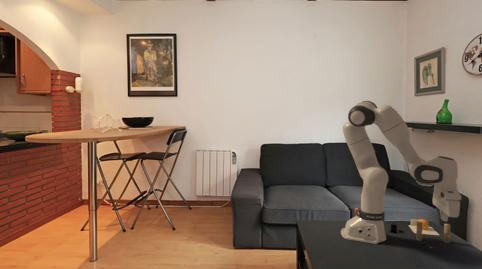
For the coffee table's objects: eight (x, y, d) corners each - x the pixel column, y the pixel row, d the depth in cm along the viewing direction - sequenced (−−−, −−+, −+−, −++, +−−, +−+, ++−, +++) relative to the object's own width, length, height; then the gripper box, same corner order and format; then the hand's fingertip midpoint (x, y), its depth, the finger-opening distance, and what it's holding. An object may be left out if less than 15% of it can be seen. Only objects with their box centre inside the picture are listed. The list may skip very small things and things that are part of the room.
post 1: (417, 240, 152) (417, 223, 151) (415, 238, 154) (416, 221, 154) (422, 240, 151) (423, 223, 150) (421, 238, 154) (421, 221, 153)
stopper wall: (411, 225, 172) (411, 220, 172) (410, 224, 174) (410, 219, 174) (425, 226, 170) (425, 221, 170) (424, 225, 172) (424, 220, 172)
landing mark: (414, 233, 160) (414, 233, 160) (408, 225, 172) (408, 225, 172) (439, 235, 157) (439, 235, 157) (431, 227, 169) (431, 226, 169)
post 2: (444, 242, 149) (445, 225, 148) (442, 240, 151) (443, 223, 150) (450, 243, 148) (451, 225, 147) (448, 241, 150) (449, 223, 150)
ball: (416, 227, 170) (420, 230, 164) (415, 218, 170) (419, 220, 165) (427, 227, 168) (431, 230, 163) (426, 218, 169) (430, 220, 163)
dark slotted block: (400, 236, 158) (401, 228, 157) (385, 234, 161) (385, 226, 161) (401, 228, 168) (401, 221, 168) (386, 226, 172) (387, 219, 172)
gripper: (429, 185, 148) (428, 212, 149) (446, 196, 128) (445, 227, 129) (443, 186, 146) (442, 213, 147) (463, 197, 127) (462, 229, 127)
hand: (444, 220), depth 138 cm, fingers closed
